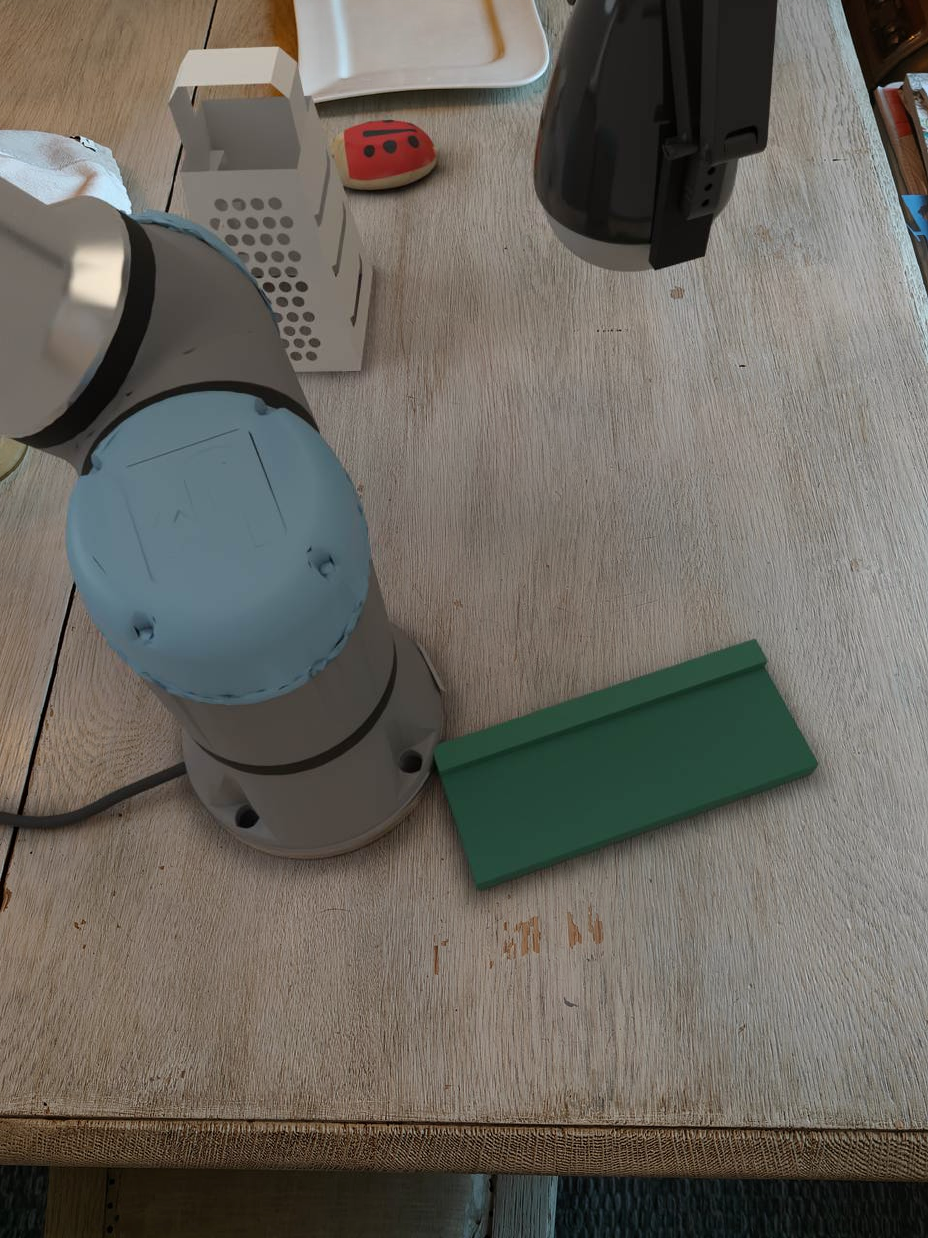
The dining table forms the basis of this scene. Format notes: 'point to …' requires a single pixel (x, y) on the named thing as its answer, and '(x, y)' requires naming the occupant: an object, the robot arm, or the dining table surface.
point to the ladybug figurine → (383, 154)
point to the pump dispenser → (609, 132)
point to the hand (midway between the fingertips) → (631, 192)
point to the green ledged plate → (619, 763)
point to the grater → (275, 196)
